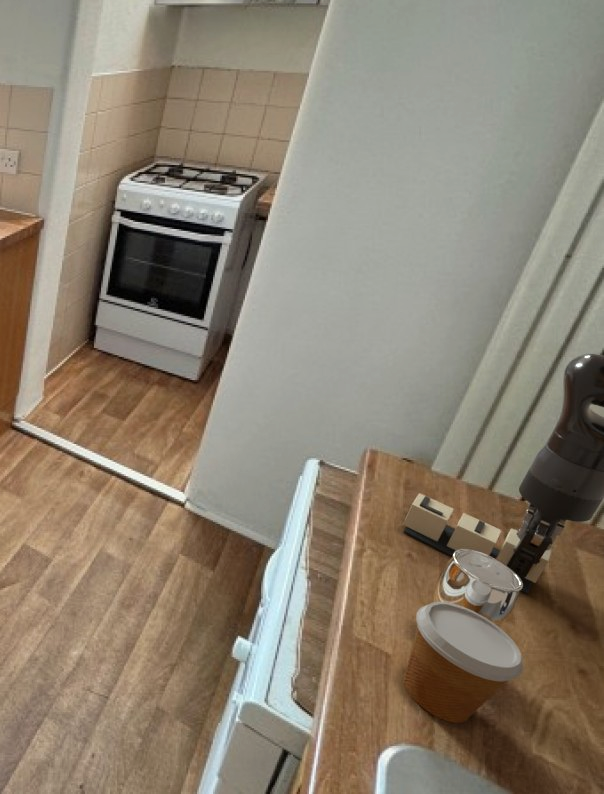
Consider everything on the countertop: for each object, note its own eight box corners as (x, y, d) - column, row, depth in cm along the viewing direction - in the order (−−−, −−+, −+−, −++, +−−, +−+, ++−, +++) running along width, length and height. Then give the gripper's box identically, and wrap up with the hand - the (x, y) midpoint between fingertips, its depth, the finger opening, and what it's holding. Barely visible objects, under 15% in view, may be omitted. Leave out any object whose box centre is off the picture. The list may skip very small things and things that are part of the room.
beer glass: (406, 644, 84) (447, 565, 79) (416, 615, 89) (455, 539, 83) (474, 683, 79) (523, 602, 74) (481, 650, 84) (527, 572, 78)
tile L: (444, 529, 104) (454, 507, 102) (437, 541, 101) (448, 519, 99) (409, 513, 107) (419, 491, 105) (402, 524, 104) (412, 502, 103)
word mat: (536, 569, 97) (537, 567, 96) (527, 595, 92) (528, 593, 92) (416, 512, 108) (416, 510, 108) (403, 532, 103) (404, 530, 103)
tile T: (540, 568, 95) (553, 545, 93) (535, 583, 92) (549, 559, 90) (499, 549, 98) (512, 526, 96) (494, 563, 96) (506, 539, 94)
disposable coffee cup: (369, 659, 82) (400, 596, 78) (440, 662, 82) (475, 600, 78) (428, 735, 73) (467, 669, 69) (508, 739, 73) (552, 674, 69)
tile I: (490, 551, 99) (502, 528, 98) (484, 564, 97) (496, 541, 95) (453, 533, 103) (464, 511, 101) (446, 546, 100) (457, 523, 98)
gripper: (600, 517, 82) (545, 605, 88) (610, 474, 90) (558, 558, 96) (522, 485, 88) (476, 570, 94) (538, 448, 96) (494, 529, 102)
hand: (518, 564), depth 95 cm, fingers closed on tile T, 4 cm apart
